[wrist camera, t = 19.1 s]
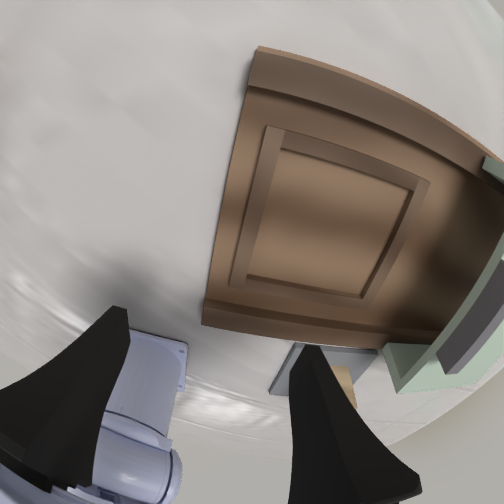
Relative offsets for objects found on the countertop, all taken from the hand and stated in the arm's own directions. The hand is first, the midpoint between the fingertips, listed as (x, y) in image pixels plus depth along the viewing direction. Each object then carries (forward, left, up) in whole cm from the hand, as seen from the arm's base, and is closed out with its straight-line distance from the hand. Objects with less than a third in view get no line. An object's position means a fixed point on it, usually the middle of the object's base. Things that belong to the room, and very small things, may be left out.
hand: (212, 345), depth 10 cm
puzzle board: (+2, -14, -9) cm, 17 cm away
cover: (+2, -21, -7) cm, 22 cm away
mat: (-14, -12, -9) cm, 21 cm away
